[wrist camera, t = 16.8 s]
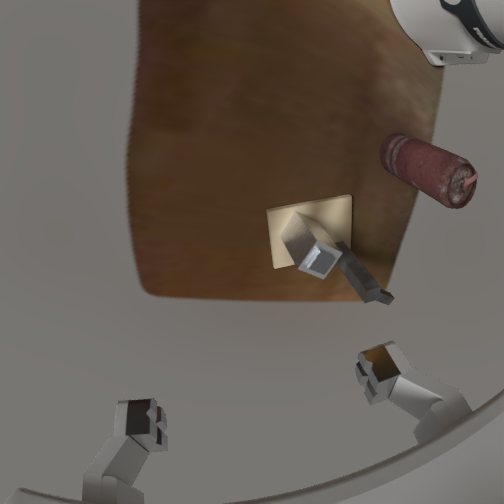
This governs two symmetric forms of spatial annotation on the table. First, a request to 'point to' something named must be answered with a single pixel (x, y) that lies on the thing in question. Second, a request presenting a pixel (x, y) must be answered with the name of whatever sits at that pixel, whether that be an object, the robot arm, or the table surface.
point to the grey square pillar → (310, 246)
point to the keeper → (338, 228)
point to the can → (430, 169)
